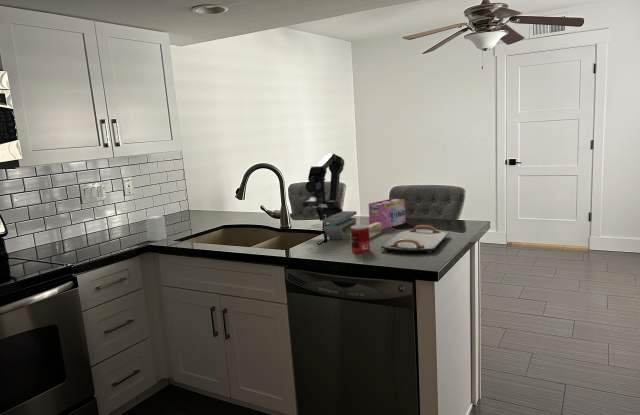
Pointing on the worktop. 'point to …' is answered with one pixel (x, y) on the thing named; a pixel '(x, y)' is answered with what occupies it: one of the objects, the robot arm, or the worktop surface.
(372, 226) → the maple stop board
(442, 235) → the serving board
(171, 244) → the worktop surface
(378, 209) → the gum box
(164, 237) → the supplement box
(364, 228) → the canned food
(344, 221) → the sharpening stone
